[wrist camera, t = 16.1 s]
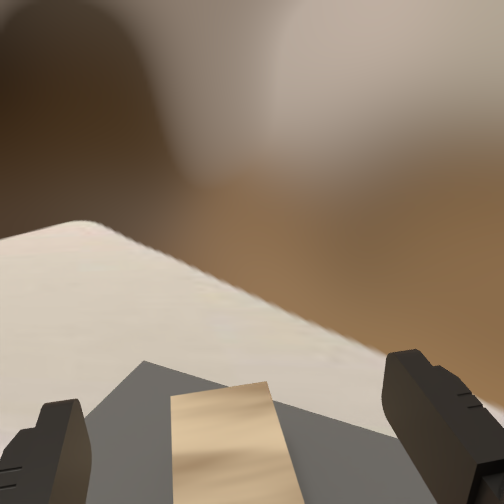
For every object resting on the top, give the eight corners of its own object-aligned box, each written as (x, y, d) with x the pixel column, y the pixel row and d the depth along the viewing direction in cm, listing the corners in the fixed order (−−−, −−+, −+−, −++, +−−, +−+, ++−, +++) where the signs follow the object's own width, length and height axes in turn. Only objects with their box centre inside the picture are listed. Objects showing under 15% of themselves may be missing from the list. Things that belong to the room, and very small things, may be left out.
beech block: (267, 436, 25) (317, 620, 17) (178, 451, 24) (187, 652, 16) (266, 381, 23) (321, 558, 15) (170, 396, 23) (175, 590, 15)
